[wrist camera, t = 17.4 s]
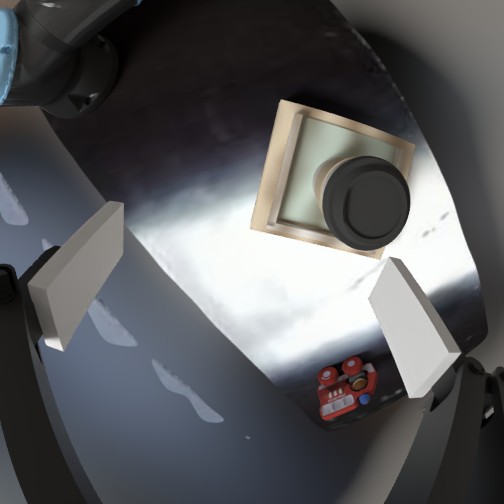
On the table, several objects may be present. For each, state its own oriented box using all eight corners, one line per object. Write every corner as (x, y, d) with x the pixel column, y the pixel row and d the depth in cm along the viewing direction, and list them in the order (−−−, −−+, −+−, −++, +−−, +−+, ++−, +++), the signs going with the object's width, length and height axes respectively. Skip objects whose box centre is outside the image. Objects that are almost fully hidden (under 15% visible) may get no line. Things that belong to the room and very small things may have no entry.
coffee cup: (370, 154, 36) (426, 165, 22) (364, 218, 40) (411, 259, 26) (305, 147, 37) (332, 152, 23) (301, 214, 40) (323, 256, 26)
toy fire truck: (374, 369, 55) (388, 405, 46) (320, 392, 58) (327, 429, 48) (366, 348, 53) (382, 385, 44) (309, 373, 56) (315, 412, 46)
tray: (250, 221, 45) (249, 232, 40) (279, 103, 38) (282, 97, 33) (371, 250, 46) (383, 263, 41) (403, 143, 40) (420, 145, 34)
